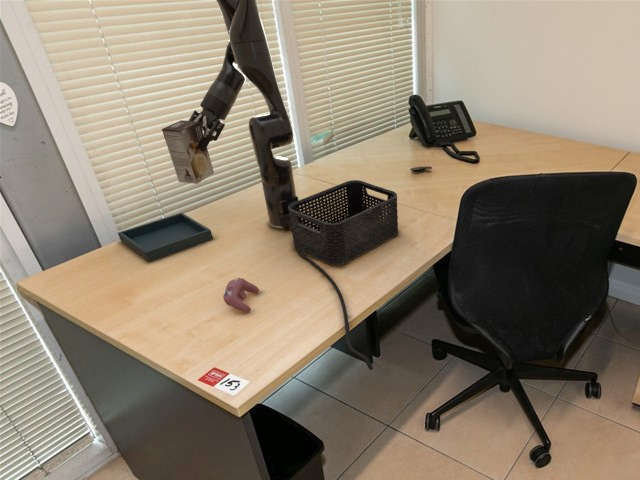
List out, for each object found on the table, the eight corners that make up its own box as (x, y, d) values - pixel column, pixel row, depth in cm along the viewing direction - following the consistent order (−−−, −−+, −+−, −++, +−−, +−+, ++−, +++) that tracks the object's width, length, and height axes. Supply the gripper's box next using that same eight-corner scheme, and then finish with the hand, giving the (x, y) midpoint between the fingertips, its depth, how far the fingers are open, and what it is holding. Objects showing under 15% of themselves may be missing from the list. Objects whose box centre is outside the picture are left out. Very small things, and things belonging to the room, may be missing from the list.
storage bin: (357, 215, 170) (354, 177, 163) (403, 233, 162) (402, 192, 155) (289, 249, 151) (282, 206, 143) (337, 270, 143) (332, 226, 135)
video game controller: (246, 296, 133) (228, 276, 129) (261, 289, 132) (243, 269, 128) (236, 319, 125) (216, 298, 121) (251, 312, 124) (232, 291, 120)
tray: (213, 239, 153) (210, 229, 151) (149, 262, 141) (145, 252, 139) (184, 221, 161) (181, 212, 159) (121, 242, 149) (117, 232, 147)
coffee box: (196, 171, 163) (181, 119, 154) (214, 173, 163) (200, 121, 153) (178, 182, 156) (160, 128, 147) (197, 184, 155) (181, 130, 146)
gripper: (196, 87, 156) (169, 134, 156) (222, 96, 150) (194, 145, 149) (217, 102, 163) (191, 147, 162) (242, 112, 156) (216, 159, 155)
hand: (193, 146), depth 156 cm, fingers closed on coffee box, 7 cm apart
